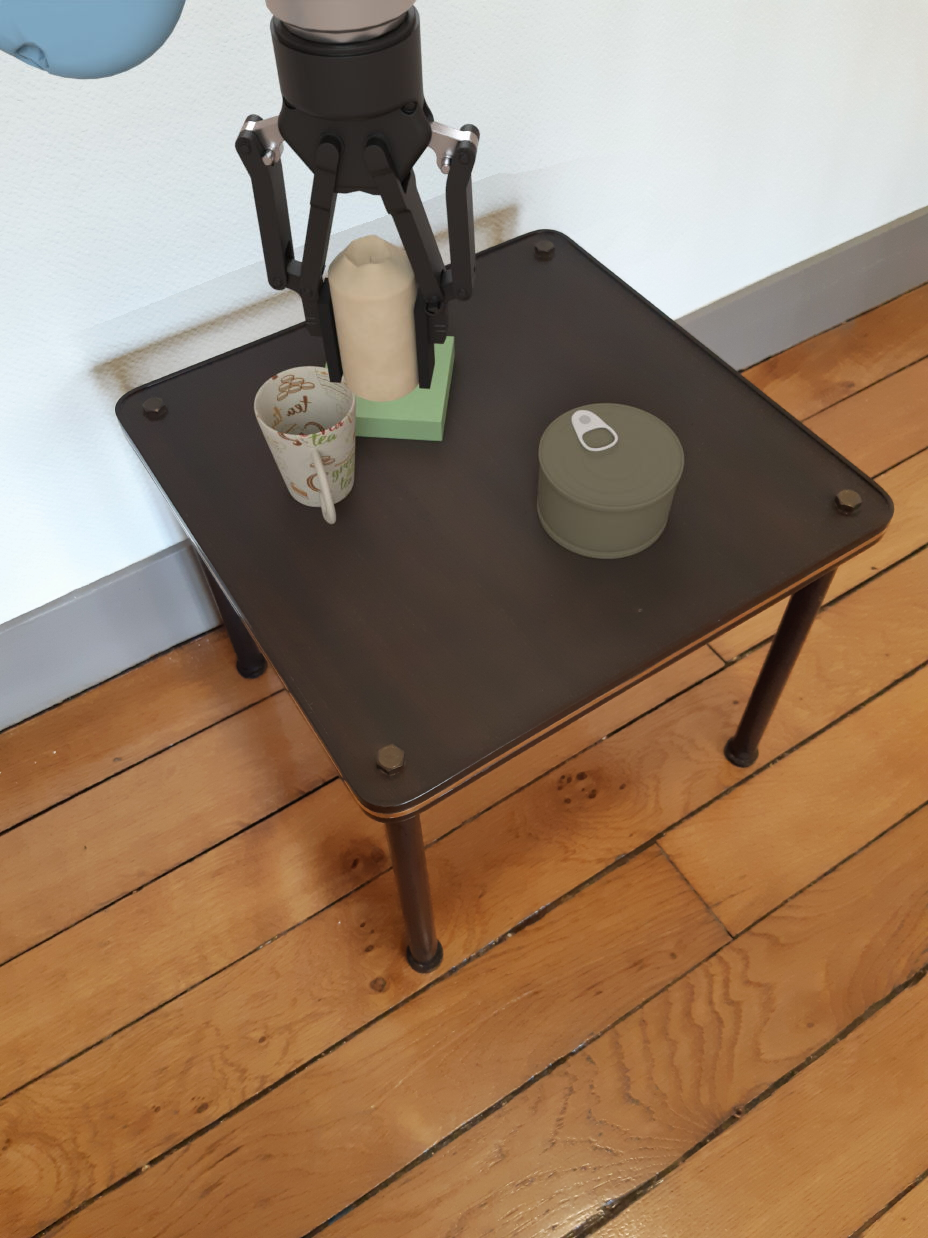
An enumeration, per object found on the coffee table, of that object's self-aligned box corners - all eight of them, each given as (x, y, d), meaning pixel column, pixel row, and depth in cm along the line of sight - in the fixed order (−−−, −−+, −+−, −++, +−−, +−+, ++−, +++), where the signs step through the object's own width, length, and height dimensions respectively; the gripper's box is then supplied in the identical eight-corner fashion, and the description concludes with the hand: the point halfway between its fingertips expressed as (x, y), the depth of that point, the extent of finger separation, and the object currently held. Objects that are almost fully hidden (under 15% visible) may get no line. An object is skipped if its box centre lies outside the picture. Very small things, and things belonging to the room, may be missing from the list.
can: (575, 580, 79) (583, 527, 73) (511, 484, 85) (513, 428, 79) (696, 532, 82) (713, 477, 76) (625, 442, 88) (636, 386, 82)
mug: (353, 440, 88) (341, 356, 80) (390, 539, 82) (380, 458, 73) (266, 461, 87) (244, 378, 79) (296, 563, 80) (276, 484, 72)
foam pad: (316, 433, 89) (312, 414, 87) (337, 349, 96) (334, 329, 94) (442, 441, 88) (441, 421, 86) (454, 356, 95) (454, 336, 93)
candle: (430, 394, 65) (423, 267, 57) (352, 409, 64) (333, 283, 56) (412, 343, 68) (402, 216, 60) (337, 357, 67) (317, 231, 59)
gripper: (535, -20, 48) (519, 345, 67) (182, -33, 49) (265, 329, 69) (524, 51, 44) (510, 419, 63) (139, 36, 45) (240, 400, 64)
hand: (382, 371), depth 66 cm, fingers closed on candle, 5 cm apart
